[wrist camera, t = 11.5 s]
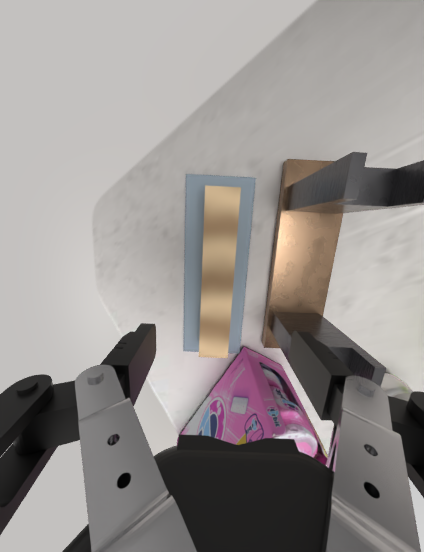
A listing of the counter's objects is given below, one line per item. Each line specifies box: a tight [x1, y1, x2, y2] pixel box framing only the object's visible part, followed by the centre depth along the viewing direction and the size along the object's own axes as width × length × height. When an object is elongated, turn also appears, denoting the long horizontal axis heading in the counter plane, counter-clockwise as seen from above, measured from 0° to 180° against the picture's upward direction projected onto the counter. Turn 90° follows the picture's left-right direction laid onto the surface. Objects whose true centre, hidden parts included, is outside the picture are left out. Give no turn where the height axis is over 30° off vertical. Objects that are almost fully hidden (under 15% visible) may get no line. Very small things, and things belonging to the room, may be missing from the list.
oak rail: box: [199, 186, 241, 358], centre depth 27 cm, size 22×4×4 cm, turn 177°
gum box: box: [177, 347, 328, 465], centre depth 28 cm, size 24×8×14 cm, turn 150°
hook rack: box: [262, 152, 424, 391], centre depth 22 cm, size 26×8×13 cm, turn 177°
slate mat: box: [184, 174, 256, 354], centre depth 29 cm, size 26×9×1 cm, turn 177°
